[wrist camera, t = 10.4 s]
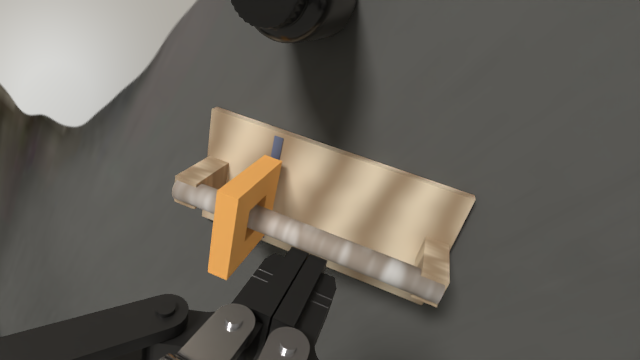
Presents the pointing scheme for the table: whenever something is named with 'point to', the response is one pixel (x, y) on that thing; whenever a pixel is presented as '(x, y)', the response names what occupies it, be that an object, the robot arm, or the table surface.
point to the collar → (241, 214)
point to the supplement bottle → (296, 18)
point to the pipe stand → (337, 206)
